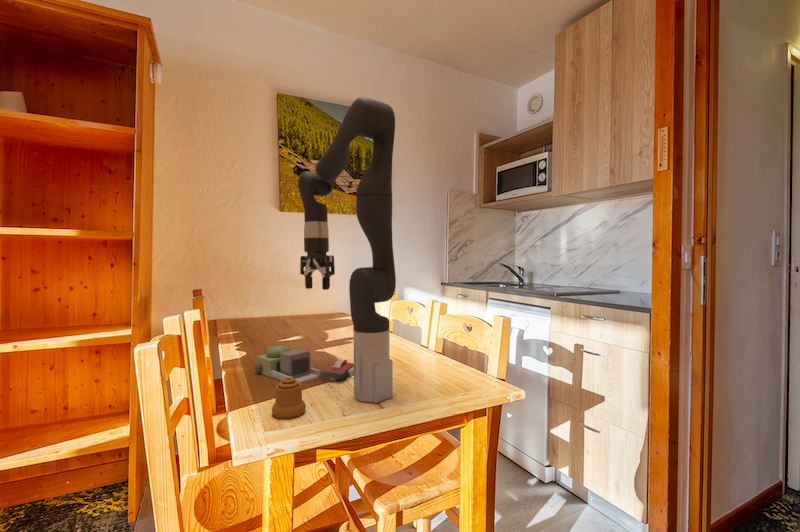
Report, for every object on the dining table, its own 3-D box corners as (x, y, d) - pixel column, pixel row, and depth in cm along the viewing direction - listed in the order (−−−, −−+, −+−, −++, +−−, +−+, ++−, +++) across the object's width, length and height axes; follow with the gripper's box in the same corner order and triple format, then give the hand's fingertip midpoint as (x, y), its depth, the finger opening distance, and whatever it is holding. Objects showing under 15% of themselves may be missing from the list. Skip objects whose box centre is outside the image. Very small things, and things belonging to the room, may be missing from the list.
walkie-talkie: (346, 386, 108) (368, 366, 128) (346, 370, 108) (368, 353, 128) (317, 383, 110) (344, 364, 130) (317, 368, 110) (343, 351, 130)
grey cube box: (310, 374, 116) (310, 351, 116) (290, 380, 111) (290, 355, 111) (300, 371, 120) (300, 348, 119) (280, 376, 114) (280, 352, 114)
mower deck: (322, 376, 116) (322, 351, 116) (288, 386, 107) (288, 359, 107) (287, 364, 129) (287, 342, 128) (254, 372, 120) (254, 349, 120)
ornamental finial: (277, 407, 93) (308, 406, 93) (267, 420, 85) (301, 419, 85) (277, 374, 93) (308, 373, 93) (266, 384, 85) (301, 384, 85)
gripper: (340, 236, 118) (341, 289, 119) (312, 238, 128) (313, 287, 128) (321, 235, 113) (321, 291, 113) (292, 237, 122) (293, 288, 122)
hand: (317, 289), depth 121 cm, fingers open, 8 cm apart
